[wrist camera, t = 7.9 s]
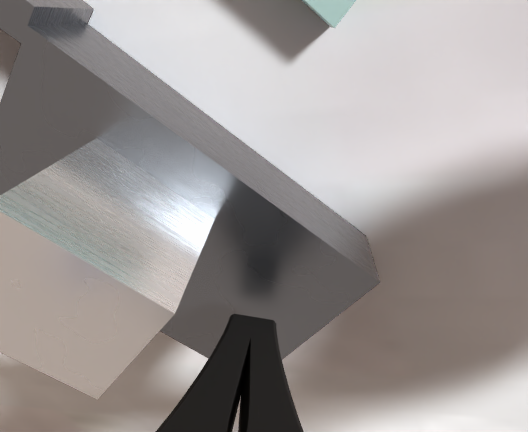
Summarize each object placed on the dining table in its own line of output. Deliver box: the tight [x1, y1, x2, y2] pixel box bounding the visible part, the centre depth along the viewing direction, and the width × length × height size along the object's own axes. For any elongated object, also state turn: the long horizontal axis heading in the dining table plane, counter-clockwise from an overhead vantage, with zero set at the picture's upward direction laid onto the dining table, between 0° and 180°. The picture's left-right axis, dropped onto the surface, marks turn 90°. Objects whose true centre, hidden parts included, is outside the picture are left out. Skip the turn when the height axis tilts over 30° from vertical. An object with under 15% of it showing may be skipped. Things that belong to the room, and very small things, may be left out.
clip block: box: [0, 138, 214, 400], centre depth 10 cm, size 4×4×4 cm
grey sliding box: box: [0, 0, 380, 359], centre depth 12 cm, size 20×8×3 cm, turn 53°
